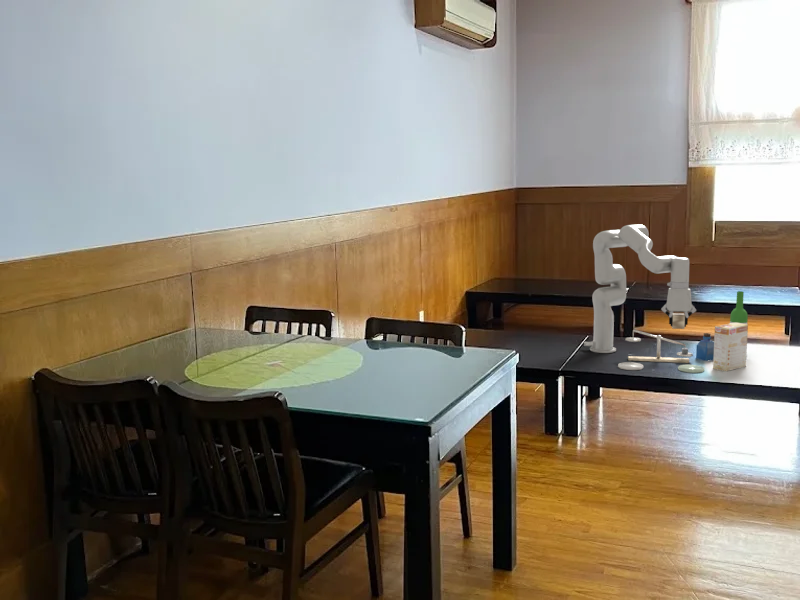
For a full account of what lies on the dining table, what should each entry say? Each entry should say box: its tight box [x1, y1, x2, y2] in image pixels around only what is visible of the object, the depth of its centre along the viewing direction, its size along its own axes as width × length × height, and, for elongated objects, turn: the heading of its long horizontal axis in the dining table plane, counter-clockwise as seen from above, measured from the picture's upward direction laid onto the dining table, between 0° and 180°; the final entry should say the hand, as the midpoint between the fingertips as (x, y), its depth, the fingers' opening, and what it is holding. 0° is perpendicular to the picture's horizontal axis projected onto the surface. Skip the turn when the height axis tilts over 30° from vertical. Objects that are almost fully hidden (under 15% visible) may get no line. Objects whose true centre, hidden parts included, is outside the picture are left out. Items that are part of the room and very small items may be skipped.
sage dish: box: [677, 364, 705, 374], centre depth 357 cm, size 11×11×1 cm
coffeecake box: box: [712, 322, 749, 372], centre depth 358 cm, size 15×7×20 cm, turn 123°
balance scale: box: [625, 329, 694, 364], centre depth 373 cm, size 30×7×15 cm, turn 76°
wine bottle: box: [729, 290, 749, 325], centre depth 385 cm, size 8×8×30 cm
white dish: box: [617, 361, 644, 371], centre depth 363 cm, size 11×11×1 cm
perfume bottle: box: [695, 332, 714, 362], centre depth 376 cm, size 6×6×12 cm
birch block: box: [671, 312, 686, 330], centre depth 355 cm, size 5×5×6 cm
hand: (678, 325), depth 355 cm, fingers closed on birch block, 5 cm apart
